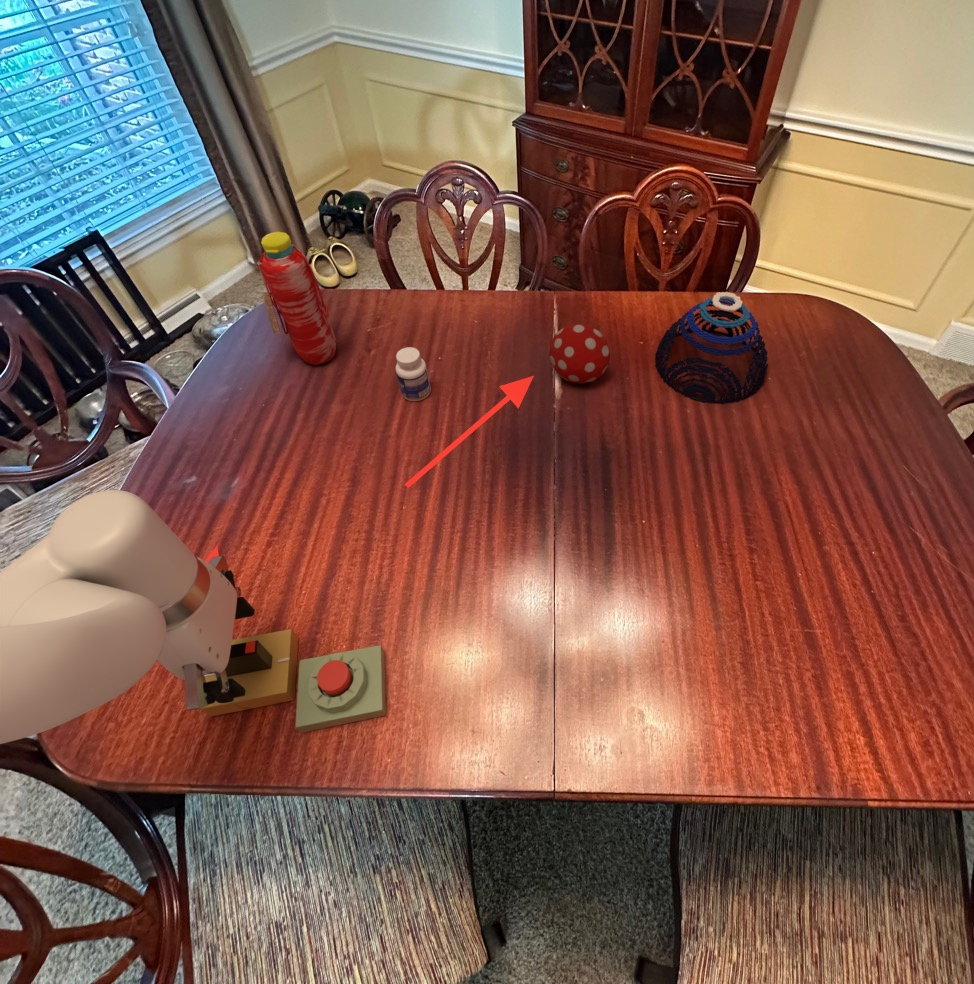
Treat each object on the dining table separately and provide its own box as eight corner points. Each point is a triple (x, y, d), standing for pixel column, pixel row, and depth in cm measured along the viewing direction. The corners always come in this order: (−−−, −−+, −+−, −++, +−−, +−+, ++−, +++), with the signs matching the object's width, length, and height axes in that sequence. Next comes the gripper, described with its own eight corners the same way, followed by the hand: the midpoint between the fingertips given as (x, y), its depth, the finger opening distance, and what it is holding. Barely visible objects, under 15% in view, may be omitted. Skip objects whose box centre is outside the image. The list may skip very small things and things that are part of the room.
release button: (320, 698, 70) (316, 693, 69) (321, 668, 73) (317, 663, 71) (351, 692, 71) (348, 687, 69) (352, 662, 73) (348, 657, 72)
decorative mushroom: (549, 322, 116) (531, 348, 103) (600, 296, 112) (588, 320, 99) (576, 371, 120) (562, 402, 107) (626, 348, 115) (618, 377, 102)
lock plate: (208, 717, 73) (197, 709, 70) (218, 653, 78) (208, 643, 75) (295, 700, 74) (286, 691, 71) (299, 637, 79) (291, 628, 76)
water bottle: (274, 368, 113) (218, 249, 94) (288, 340, 118) (238, 222, 99) (337, 371, 112) (293, 251, 93) (349, 343, 117) (309, 224, 98)
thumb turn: (220, 678, 73) (201, 662, 69) (222, 665, 74) (203, 649, 70) (271, 668, 73) (255, 652, 69) (272, 656, 74) (257, 639, 70)
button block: (301, 732, 71) (289, 722, 68) (304, 666, 76) (294, 654, 73) (386, 715, 72) (379, 705, 69) (384, 651, 78) (377, 638, 74)
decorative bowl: (641, 385, 109) (652, 321, 98) (670, 320, 120) (682, 257, 109) (754, 416, 103) (778, 352, 92) (772, 345, 115) (795, 281, 104)
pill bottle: (400, 384, 110) (390, 346, 103) (429, 379, 110) (421, 341, 104) (403, 404, 106) (393, 367, 99) (432, 399, 107) (425, 362, 100)
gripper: (144, 520, 63) (215, 593, 76) (100, 687, 52) (191, 738, 65) (218, 508, 64) (276, 582, 77) (190, 670, 53) (263, 723, 66)
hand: (237, 653), depth 71 cm, fingers open, 9 cm apart
